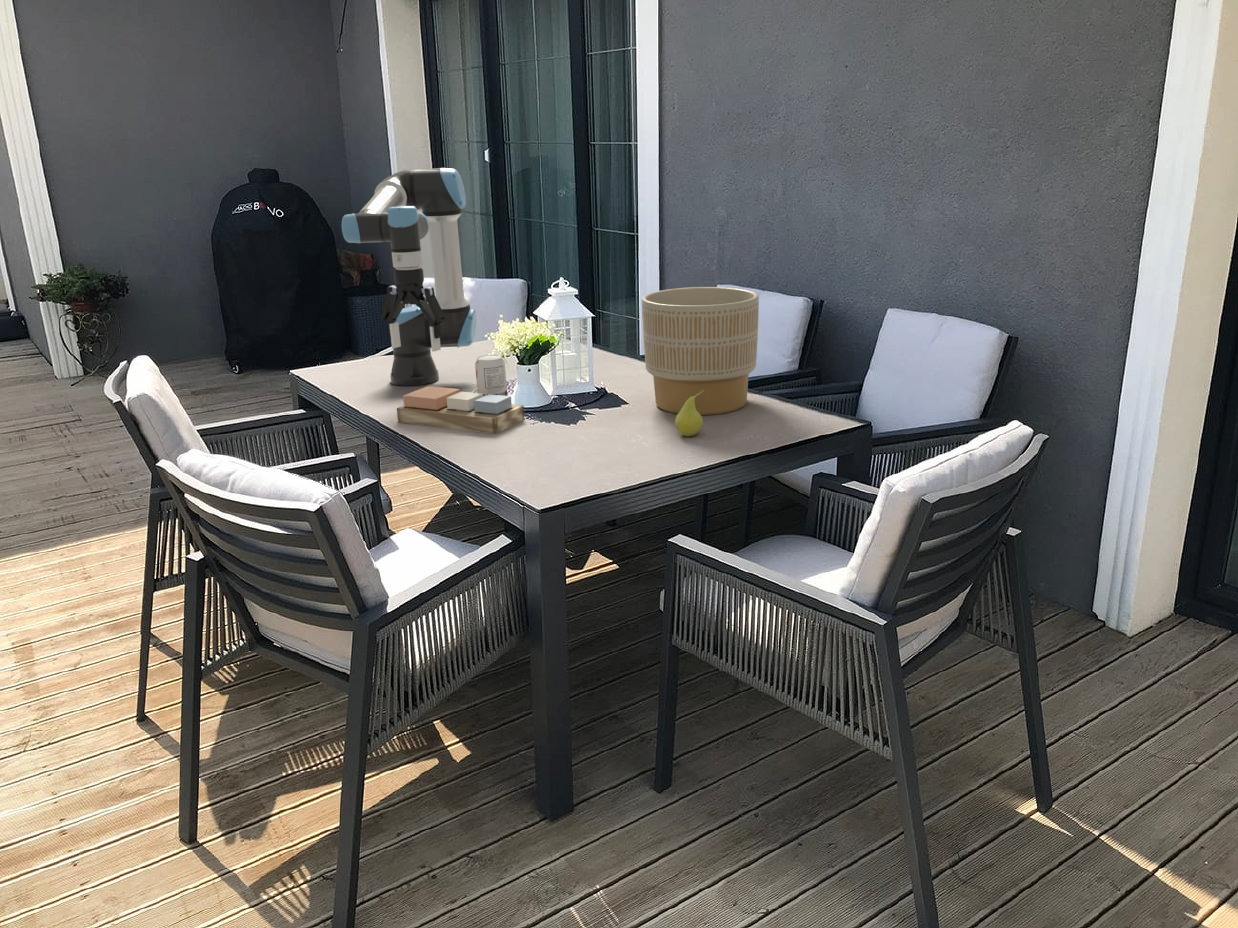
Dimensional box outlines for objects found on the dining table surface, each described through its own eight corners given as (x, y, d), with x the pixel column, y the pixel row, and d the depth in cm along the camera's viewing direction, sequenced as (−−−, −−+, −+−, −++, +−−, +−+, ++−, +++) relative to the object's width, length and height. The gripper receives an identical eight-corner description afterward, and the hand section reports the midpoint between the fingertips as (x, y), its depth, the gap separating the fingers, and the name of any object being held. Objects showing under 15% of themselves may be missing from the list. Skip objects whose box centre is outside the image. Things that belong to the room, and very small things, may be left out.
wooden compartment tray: (429, 409, 285) (427, 395, 283) (524, 419, 271) (523, 405, 269) (398, 422, 273) (396, 408, 272) (495, 433, 259) (494, 419, 258)
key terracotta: (429, 401, 282) (427, 386, 280) (461, 404, 277) (459, 389, 276) (404, 411, 273) (403, 395, 271) (437, 415, 268) (435, 399, 266)
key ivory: (463, 407, 274) (461, 391, 273) (484, 409, 271) (482, 393, 270) (448, 413, 269) (446, 397, 267) (469, 416, 265) (468, 399, 264)
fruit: (675, 432, 255) (674, 386, 251) (704, 431, 254) (704, 385, 250) (675, 439, 248) (674, 393, 244) (706, 439, 248) (705, 392, 244)
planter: (655, 388, 297) (652, 287, 288) (761, 390, 291) (762, 286, 281) (635, 418, 268) (631, 306, 259) (753, 420, 262) (754, 305, 252)
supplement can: (474, 412, 280) (469, 360, 275) (487, 404, 287) (483, 353, 282) (500, 414, 277) (495, 361, 272) (513, 406, 284) (509, 355, 279)
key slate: (490, 410, 270) (489, 394, 269) (512, 412, 267) (510, 396, 266) (475, 417, 265) (474, 400, 263) (497, 419, 262) (496, 402, 260)
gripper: (361, 268, 260) (370, 348, 267) (436, 271, 249) (444, 354, 255) (381, 265, 266) (389, 343, 273) (455, 267, 255) (462, 349, 261)
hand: (416, 349), depth 264 cm, fingers open, 13 cm apart
